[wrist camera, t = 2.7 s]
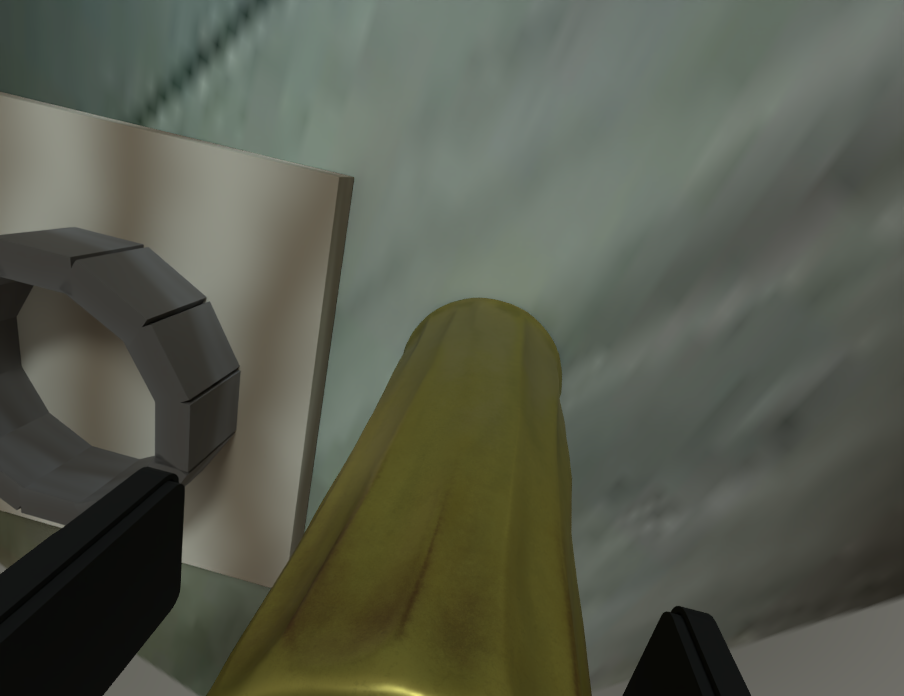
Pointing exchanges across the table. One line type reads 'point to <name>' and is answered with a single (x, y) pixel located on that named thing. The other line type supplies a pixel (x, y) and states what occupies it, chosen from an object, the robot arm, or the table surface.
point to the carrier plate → (236, 265)
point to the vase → (437, 535)
